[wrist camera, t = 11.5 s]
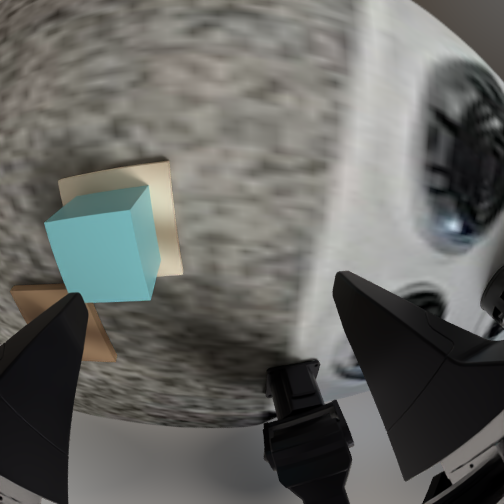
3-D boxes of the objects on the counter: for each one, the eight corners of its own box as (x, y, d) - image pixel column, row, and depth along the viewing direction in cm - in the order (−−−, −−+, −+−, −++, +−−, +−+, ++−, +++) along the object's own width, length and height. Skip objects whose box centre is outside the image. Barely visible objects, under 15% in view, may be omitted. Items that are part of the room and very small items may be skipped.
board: (183, 270, 22) (182, 274, 21) (87, 277, 21) (85, 281, 20) (169, 160, 18) (167, 161, 17) (61, 178, 16) (57, 180, 16)
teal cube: (160, 259, 21) (150, 300, 16) (94, 265, 20) (72, 303, 15) (148, 185, 18) (130, 210, 13) (76, 196, 17) (44, 222, 13)
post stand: (117, 355, 26) (107, 399, 21) (50, 351, 25) (35, 388, 20) (84, 282, 21) (60, 327, 16) (14, 285, 20) (-13, 322, 15)
